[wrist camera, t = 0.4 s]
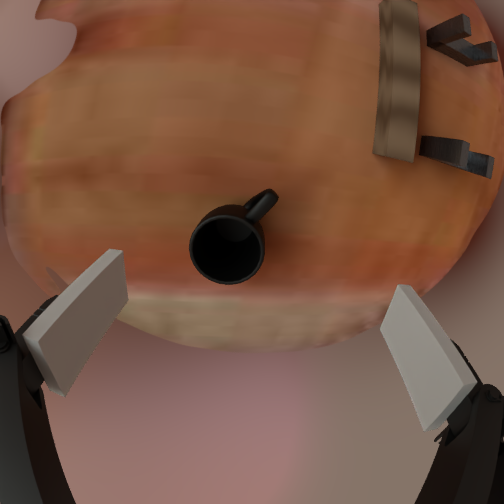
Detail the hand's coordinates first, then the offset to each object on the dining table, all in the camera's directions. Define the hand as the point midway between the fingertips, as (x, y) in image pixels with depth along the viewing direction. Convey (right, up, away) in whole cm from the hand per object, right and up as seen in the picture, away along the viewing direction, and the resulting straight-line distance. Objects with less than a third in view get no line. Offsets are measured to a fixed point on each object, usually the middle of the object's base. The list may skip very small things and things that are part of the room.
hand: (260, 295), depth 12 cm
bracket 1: (+30, +33, +13) cm, 46 cm away
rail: (+19, +26, +16) cm, 36 cm away
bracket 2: (+28, +17, +20) cm, 38 cm away
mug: (-1, +7, +26) cm, 27 cm away
